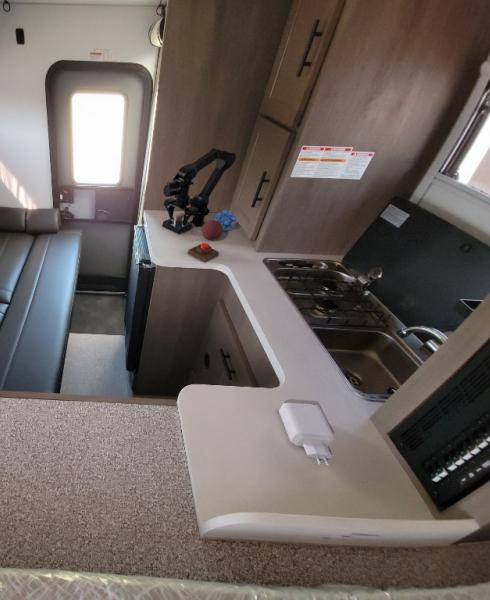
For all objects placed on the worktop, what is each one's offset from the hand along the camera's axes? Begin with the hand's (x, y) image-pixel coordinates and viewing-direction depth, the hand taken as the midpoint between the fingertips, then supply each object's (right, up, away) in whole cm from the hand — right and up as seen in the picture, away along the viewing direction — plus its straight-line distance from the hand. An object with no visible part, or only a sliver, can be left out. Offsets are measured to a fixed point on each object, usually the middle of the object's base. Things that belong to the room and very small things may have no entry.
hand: (177, 222), depth 176 cm
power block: (+7, -20, -20) cm, 30 cm away
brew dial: (0, 0, 0) cm, 0 cm away
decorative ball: (+15, -11, -8) cm, 20 cm away
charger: (+10, -78, -93) cm, 122 cm away
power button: (+7, -18, -23) cm, 30 cm away
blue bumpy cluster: (+24, -6, -1) cm, 24 cm away
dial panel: (0, -3, +2) cm, 3 cm away
